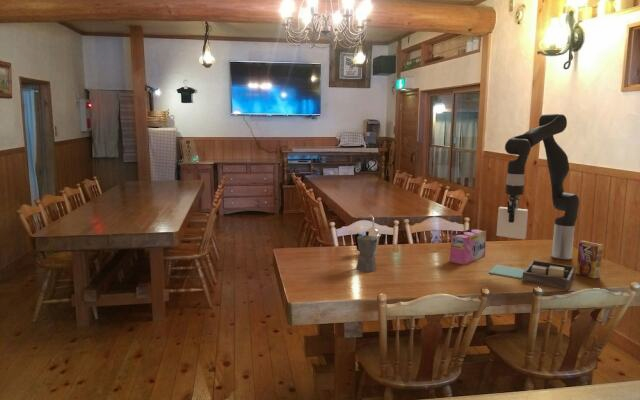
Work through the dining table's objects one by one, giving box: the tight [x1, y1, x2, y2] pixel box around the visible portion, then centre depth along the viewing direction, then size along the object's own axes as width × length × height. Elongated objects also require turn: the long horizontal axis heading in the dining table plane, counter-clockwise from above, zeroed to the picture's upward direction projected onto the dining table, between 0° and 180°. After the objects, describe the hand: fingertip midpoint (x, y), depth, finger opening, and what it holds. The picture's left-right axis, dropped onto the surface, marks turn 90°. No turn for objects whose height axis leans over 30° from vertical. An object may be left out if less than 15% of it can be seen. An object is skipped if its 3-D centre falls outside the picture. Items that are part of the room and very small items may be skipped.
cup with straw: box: [364, 213, 382, 256], centre depth 251 cm, size 8×9×20 cm
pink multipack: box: [449, 227, 487, 265], centre depth 245 cm, size 24×8×14 cm, turn 136°
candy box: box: [575, 240, 604, 279], centre depth 219 cm, size 9×4×15 cm, turn 29°
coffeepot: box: [354, 230, 377, 273], centre depth 226 cm, size 15×9×18 cm, turn 33°
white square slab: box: [496, 206, 529, 240], centre depth 220 cm, size 4×12×13 cm, turn 57°
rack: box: [521, 259, 575, 290], centre depth 214 cm, size 19×18×5 cm
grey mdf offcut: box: [531, 265, 547, 275], centre depth 212 cm, size 4×6×6 cm
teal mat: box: [488, 264, 526, 280], centre depth 224 cm, size 14×14×1 cm
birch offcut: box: [548, 266, 564, 278], centre depth 209 cm, size 4×6×7 cm
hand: (512, 221), depth 220 cm, fingers closed on white square slab, 3 cm apart
